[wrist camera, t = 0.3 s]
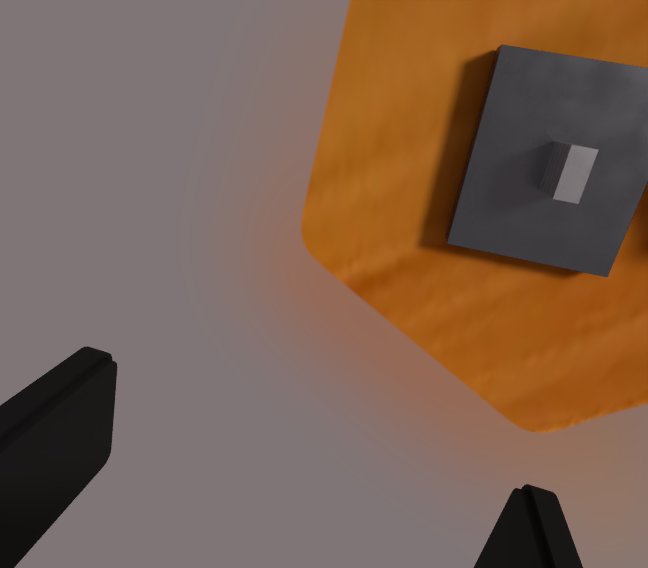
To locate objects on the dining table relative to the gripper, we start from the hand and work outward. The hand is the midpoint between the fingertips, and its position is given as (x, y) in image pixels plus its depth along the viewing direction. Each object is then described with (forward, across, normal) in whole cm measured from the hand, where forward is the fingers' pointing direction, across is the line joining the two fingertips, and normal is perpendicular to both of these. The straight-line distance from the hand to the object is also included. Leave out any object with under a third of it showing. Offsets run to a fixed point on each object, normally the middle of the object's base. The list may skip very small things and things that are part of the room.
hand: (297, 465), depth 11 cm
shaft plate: (+30, -11, -6) cm, 33 cm away
